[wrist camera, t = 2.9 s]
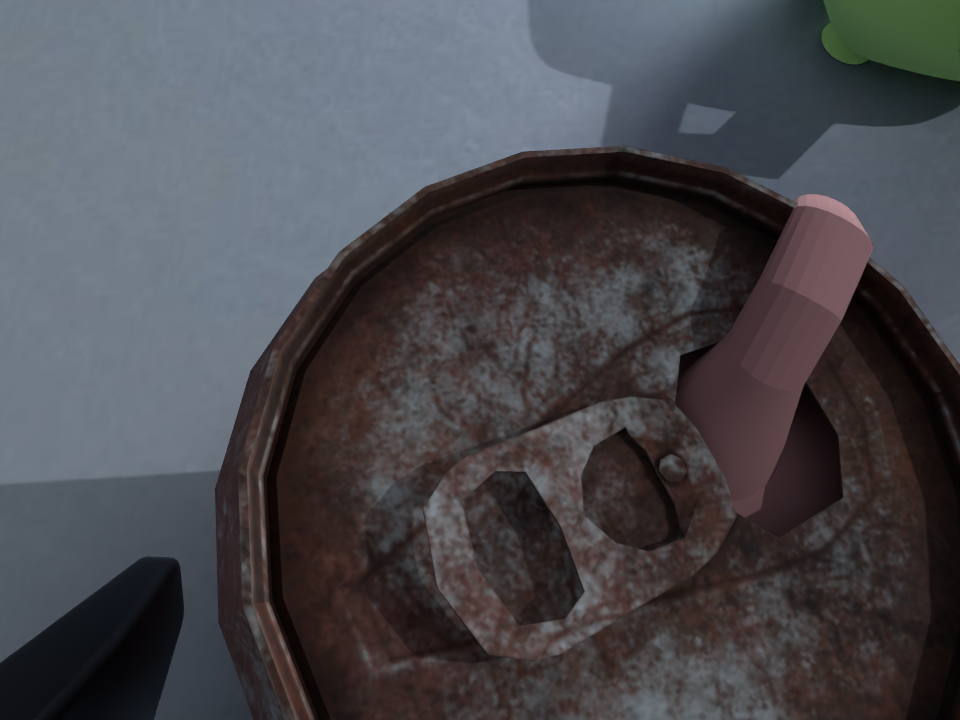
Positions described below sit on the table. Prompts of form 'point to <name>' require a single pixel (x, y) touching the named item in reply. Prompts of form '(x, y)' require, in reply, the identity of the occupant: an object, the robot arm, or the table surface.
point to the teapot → (896, 34)
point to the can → (598, 463)
